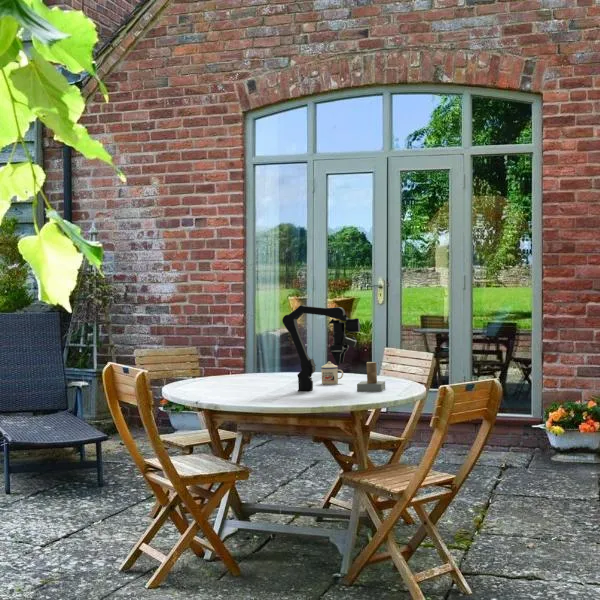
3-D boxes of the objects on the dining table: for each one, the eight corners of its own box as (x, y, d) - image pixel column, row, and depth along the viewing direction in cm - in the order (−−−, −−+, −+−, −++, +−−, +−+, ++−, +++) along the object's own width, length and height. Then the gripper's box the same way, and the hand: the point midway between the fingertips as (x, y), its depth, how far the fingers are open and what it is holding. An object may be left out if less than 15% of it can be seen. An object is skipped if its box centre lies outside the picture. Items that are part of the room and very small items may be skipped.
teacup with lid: (319, 384, 446) (318, 362, 446) (324, 382, 455) (323, 360, 455) (341, 384, 443) (340, 362, 442) (345, 382, 451) (345, 360, 451)
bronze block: (367, 383, 414) (366, 362, 414) (367, 382, 418) (367, 362, 418) (376, 383, 413) (375, 362, 413) (377, 382, 418) (376, 361, 417)
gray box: (357, 392, 411) (356, 384, 411) (361, 389, 423) (361, 381, 423) (381, 392, 408) (381, 384, 408) (385, 389, 420) (385, 381, 420)
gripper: (352, 333, 406) (352, 365, 406) (358, 331, 424) (359, 362, 424) (329, 333, 409) (330, 365, 409) (336, 331, 427) (337, 362, 427)
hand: (340, 364), depth 417 cm, fingers open, 9 cm apart
